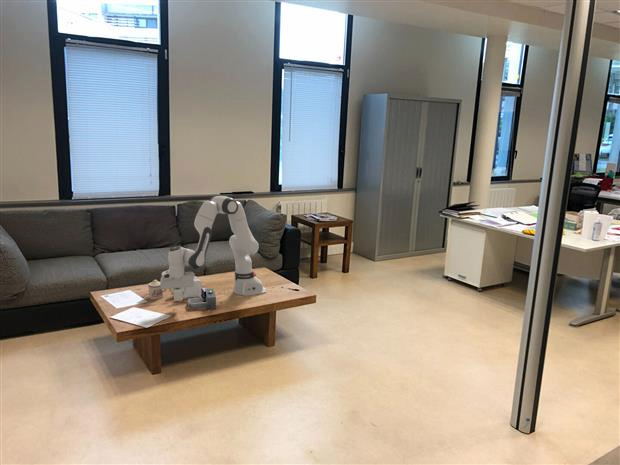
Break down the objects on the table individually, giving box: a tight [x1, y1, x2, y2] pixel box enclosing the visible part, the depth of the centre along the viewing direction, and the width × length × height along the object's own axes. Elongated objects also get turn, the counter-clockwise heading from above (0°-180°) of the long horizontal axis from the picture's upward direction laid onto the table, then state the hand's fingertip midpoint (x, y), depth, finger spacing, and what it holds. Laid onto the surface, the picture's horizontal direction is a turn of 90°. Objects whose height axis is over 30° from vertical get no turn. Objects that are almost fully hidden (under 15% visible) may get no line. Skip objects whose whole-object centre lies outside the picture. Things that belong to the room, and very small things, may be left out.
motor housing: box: [187, 288, 217, 311], centre depth 306 cm, size 16×16×9 cm
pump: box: [172, 288, 184, 302], centre depth 297 cm, size 5×5×9 cm
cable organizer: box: [182, 276, 202, 300], centre depth 322 cm, size 15×11×12 cm
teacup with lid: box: [147, 279, 167, 300], centre depth 318 cm, size 12×9×12 cm
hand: (177, 294), depth 298 cm, fingers closed on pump, 5 cm apart
